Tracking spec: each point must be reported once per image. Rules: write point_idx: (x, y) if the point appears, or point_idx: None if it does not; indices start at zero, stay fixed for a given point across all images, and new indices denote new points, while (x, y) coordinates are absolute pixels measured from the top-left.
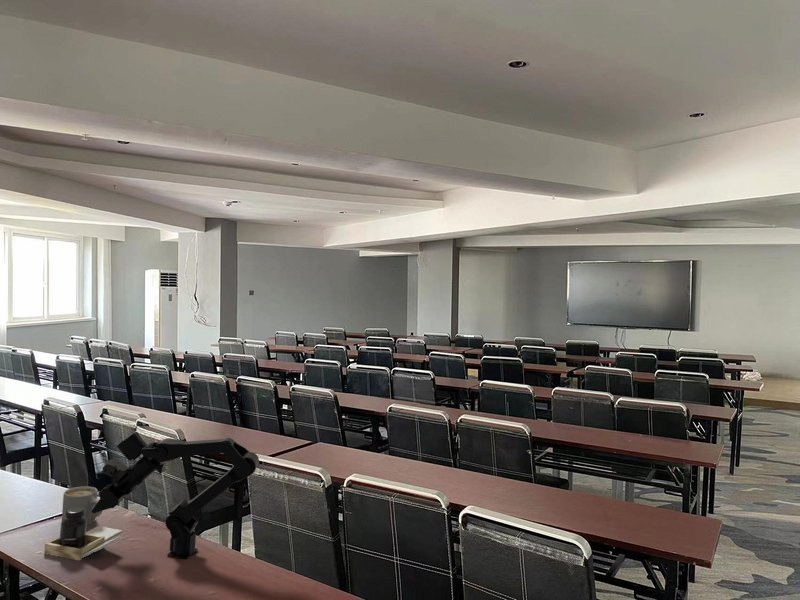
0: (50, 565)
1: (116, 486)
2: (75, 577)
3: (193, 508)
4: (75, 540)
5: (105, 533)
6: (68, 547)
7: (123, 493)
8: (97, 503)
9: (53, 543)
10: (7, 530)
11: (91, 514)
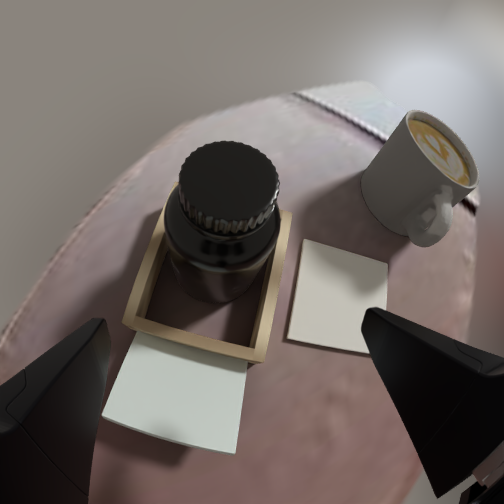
0: (98, 255)
1: (476, 376)
2: None
3: None
4: (178, 273)
5: (349, 314)
6: (144, 269)
7: (428, 446)
8: (24, 375)
9: None
10: (297, 92)
11: (410, 221)
